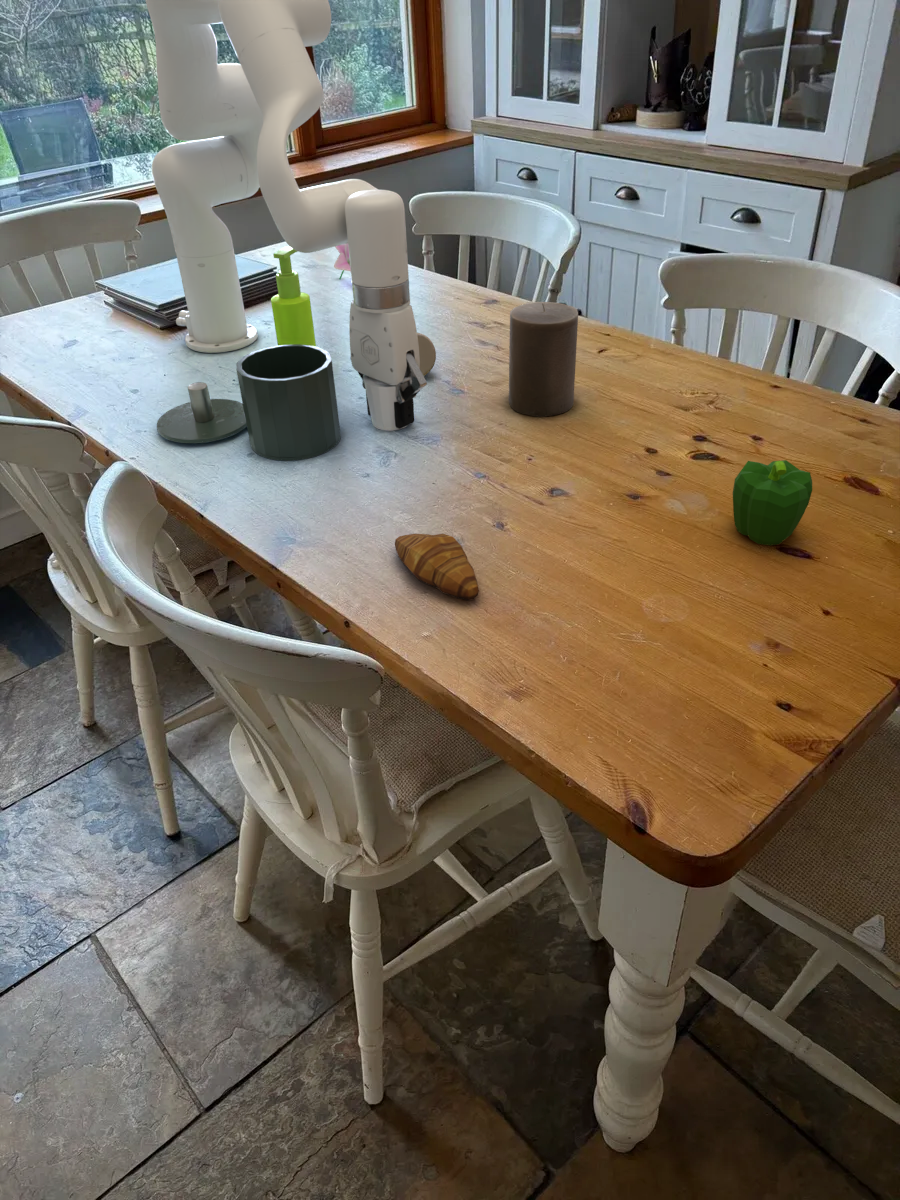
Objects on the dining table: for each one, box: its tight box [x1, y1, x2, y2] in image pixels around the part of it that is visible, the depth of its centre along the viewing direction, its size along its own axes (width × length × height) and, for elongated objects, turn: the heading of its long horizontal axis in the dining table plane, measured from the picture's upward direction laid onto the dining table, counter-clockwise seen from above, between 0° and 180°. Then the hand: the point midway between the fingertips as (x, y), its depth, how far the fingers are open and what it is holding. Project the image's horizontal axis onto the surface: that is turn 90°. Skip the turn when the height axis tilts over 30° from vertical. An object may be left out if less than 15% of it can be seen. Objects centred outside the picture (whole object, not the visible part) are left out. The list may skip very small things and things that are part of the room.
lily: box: [333, 244, 351, 280], centre depth 178 cm, size 12×12×10 cm
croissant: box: [394, 533, 480, 601], centre depth 95 cm, size 14×7×5 cm, turn 39°
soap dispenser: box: [270, 245, 317, 347], centre depth 135 cm, size 6×7×20 cm
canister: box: [235, 344, 341, 462], centre depth 120 cm, size 13×13×12 cm
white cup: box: [364, 375, 409, 432], centre depth 125 cm, size 7×7×7 cm
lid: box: [156, 381, 247, 444], centre depth 126 cm, size 14×14×6 cm
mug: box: [417, 332, 437, 377], centre depth 140 cm, size 8×10×10 cm
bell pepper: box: [732, 459, 813, 546], centre depth 98 cm, size 8×8×10 cm
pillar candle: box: [508, 301, 579, 418], centre depth 126 cm, size 10×10×15 cm
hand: (391, 417), depth 127 cm, fingers closed on white cup, 5 cm apart
